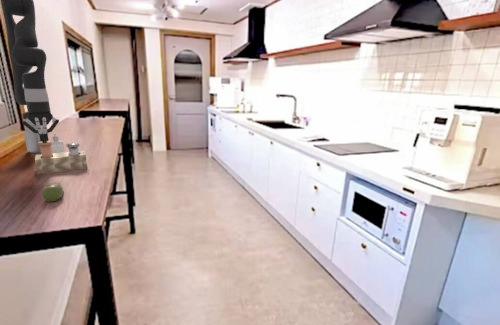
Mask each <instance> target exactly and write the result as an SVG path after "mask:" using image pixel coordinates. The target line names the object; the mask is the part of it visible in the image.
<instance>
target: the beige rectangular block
mask: <svg viewBox="0 0 500 325" xmlns="http://www.w3.org/2000/svg"><path fill="white" fill-rule="evenodd" d="M86 155H87V154H86V153H85V151H84V150H79V154H78V155H70V154H69V151H65V152H63V153H52V157H48V158H42V154H35V157H34V158H35V159H34V164H35V167H36V168H35V169H36V174H37V175H41V174H42V175H43V174H44V175H45V174H49V173H50V174H51V173H52V174H53V173H58V172H66V171H74V170H82V169H88V161H87V156H86Z"/></svg>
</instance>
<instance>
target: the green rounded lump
mask: <svg viewBox="0 0 500 325" xmlns="http://www.w3.org/2000/svg"><path fill="white" fill-rule="evenodd" d="M63 188H64V187H63V186H62V185H60V184H57V183H53V184H49V185H46V186H45V187H44V188H43V189H42V190H41V191H42V192H41V195H42V198H43V200H45V201H47V202H51V203H52V202H56V201H58V200H59V199H61V197H62V195H63V194H64V193H65V191H64V189H63Z"/></svg>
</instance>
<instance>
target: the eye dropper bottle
mask: <svg viewBox="0 0 500 325" xmlns="http://www.w3.org/2000/svg"><path fill="white" fill-rule="evenodd" d="M51 138H52V141H51V142H52V145H51V151H52V153H63V152H66V150H65V145H64V142H63V141H62V140H60V138H59V135H58V134H57V133H55V132H53V135H52V137H51Z"/></svg>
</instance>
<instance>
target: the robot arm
mask: <svg viewBox="0 0 500 325" xmlns="http://www.w3.org/2000/svg"><path fill="white" fill-rule="evenodd" d="M0 4H1V9H2V13H3V14H2V15H3V20H4V24H5V28H6V35H7V36H6V37H7V45H8V53H9V59H10V64H11V69H12V76H13V89H14V91H13V92H14V99H15V102H16V103H17V104H18V105H19V106H26V110H27V111H25V112H23V113H22V119H23V120H22V122H21V124H22V125H24V128H25V133H24V134H23V136H24V140H25V146H26V147H25V148H26V151H27V152H26V153H33V154H37V153H40V154H41V149H40V146H38V142H43V143H47V141H50V137H49V133H51V132H53V130H54V129H55V128H56V126H57V125H58V124H59V122H60V119H58V118H56V117H55V116H53V114H52V112H51V106H50V101H49V100H50V98H49V95H48V91H47V86H46V81H45V70H46V64H47V54H46V52H45V51H44V49H42V48H41V47H38V46H39V41H38V37H37V32H36V10H35V3H34V0H0ZM13 16H17V17H23V18H21V19H20V20H19V21H18V22H16V21H15V18H14V17H13ZM33 67H36V69H35V70H34V71H31V70H32V69H33ZM51 122H52V124H51V125H50V127H49V128H48V125H49V123H51Z"/></svg>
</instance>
